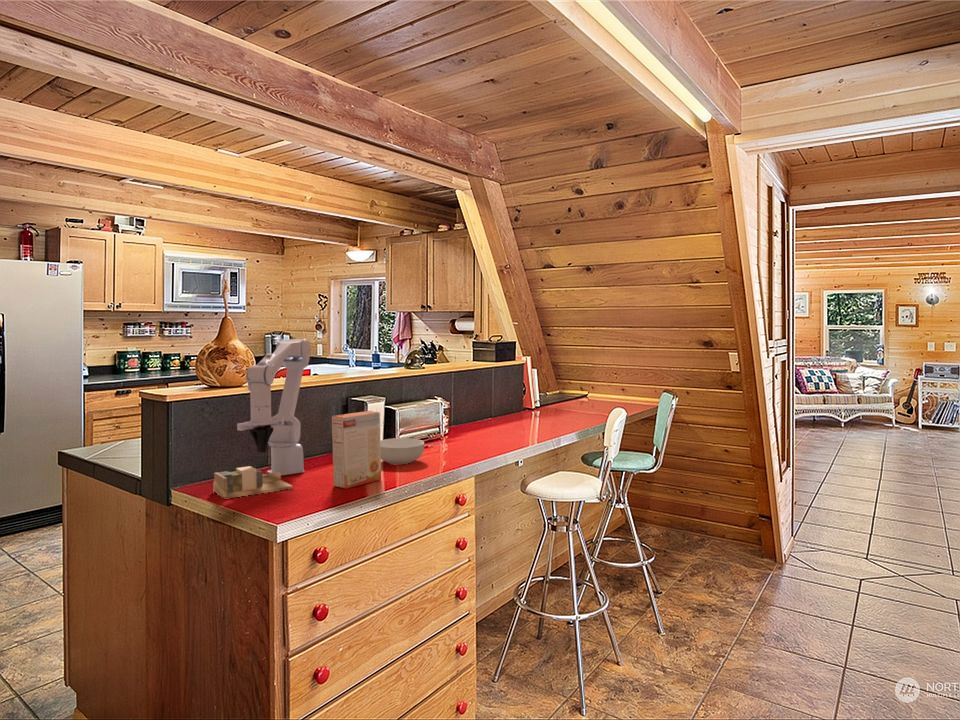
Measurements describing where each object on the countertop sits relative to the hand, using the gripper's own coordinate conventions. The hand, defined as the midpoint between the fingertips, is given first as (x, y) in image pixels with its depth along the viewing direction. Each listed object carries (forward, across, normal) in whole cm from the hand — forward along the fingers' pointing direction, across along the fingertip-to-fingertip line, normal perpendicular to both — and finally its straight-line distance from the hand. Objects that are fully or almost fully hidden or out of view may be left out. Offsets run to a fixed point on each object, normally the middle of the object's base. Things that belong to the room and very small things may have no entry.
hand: (261, 451), depth 188 cm
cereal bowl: (+10, -46, +12) cm, 48 cm away
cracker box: (+10, -17, +22) cm, 30 cm away
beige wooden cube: (+9, +7, +3) cm, 12 cm away
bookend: (+9, +4, +4) cm, 10 cm away
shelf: (+10, +6, +4) cm, 12 cm away
